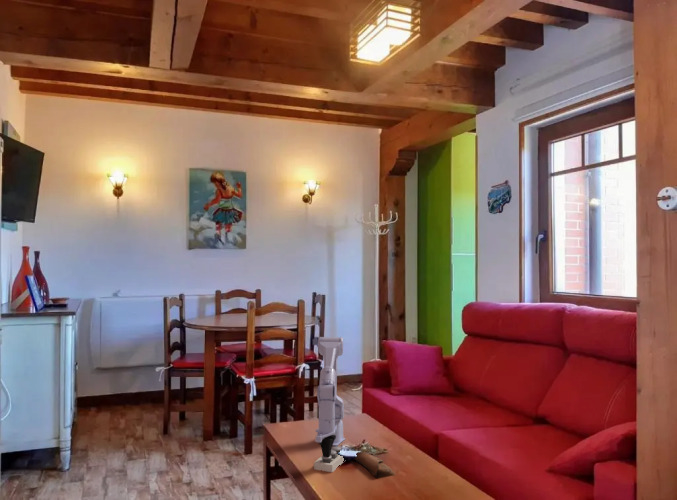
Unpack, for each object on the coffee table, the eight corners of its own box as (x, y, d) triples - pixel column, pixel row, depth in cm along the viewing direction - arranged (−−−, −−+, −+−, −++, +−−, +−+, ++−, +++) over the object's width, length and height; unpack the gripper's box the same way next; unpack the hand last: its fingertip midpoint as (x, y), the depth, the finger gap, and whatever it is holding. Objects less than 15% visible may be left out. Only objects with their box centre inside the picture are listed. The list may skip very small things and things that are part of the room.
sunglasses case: (398, 474, 187) (389, 459, 186) (383, 488, 185) (374, 472, 183) (374, 457, 204) (366, 443, 202) (359, 469, 201) (351, 455, 200)
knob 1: (324, 464, 195) (324, 453, 196) (333, 465, 194) (333, 455, 194) (319, 467, 192) (319, 457, 192) (329, 469, 191) (329, 458, 191)
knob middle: (328, 459, 200) (328, 449, 200) (338, 461, 198) (338, 451, 198) (325, 463, 196) (325, 453, 196) (334, 464, 195) (334, 454, 195)
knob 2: (333, 455, 204) (333, 445, 204) (342, 456, 202) (342, 447, 202) (329, 458, 200) (329, 449, 201) (338, 460, 199) (338, 450, 199)
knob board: (330, 455, 206) (330, 448, 206) (348, 457, 203) (348, 451, 203) (314, 469, 192) (314, 462, 192) (332, 472, 189) (332, 465, 189)
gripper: (324, 411, 202) (324, 448, 201) (307, 422, 188) (307, 462, 188) (342, 413, 199) (342, 451, 199) (326, 425, 186) (326, 465, 185)
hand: (326, 456), depth 193 cm, fingers closed, pressing on knob 1
